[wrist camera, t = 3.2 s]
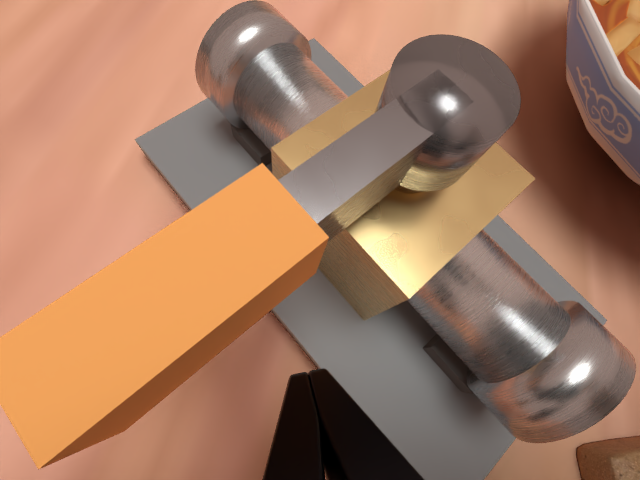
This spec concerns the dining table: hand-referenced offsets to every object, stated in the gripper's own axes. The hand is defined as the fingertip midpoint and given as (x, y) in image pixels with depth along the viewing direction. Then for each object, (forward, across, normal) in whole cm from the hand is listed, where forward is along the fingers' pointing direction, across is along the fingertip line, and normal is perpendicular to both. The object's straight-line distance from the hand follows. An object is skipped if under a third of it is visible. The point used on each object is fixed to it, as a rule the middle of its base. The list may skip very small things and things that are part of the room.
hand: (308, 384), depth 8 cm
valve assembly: (+10, -4, +2) cm, 11 cm away
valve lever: (+3, -1, -2) cm, 4 cm away
